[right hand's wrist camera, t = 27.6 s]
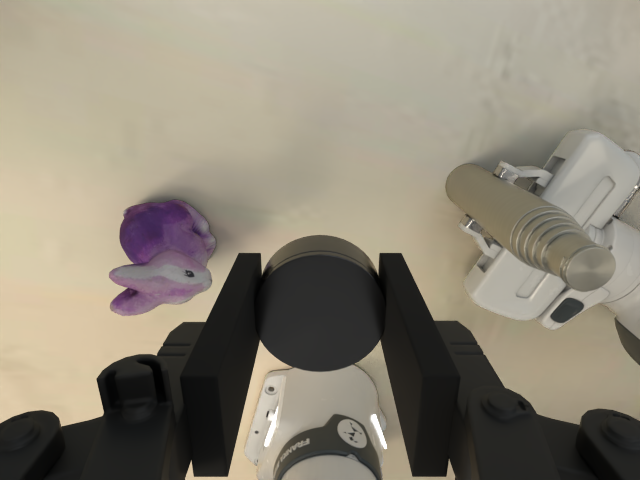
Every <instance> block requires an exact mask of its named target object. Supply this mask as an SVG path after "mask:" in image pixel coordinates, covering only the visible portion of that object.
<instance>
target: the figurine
mask: <svg viewBox="0 0 640 480" xmlns="http://www.w3.org/2000/svg"><path fill="white" fill-rule="evenodd" d="M123 216H124V220H123V222H122V224H121V228H120V243H121V246H122V248H123V250H124V251H125V253H126V255H127V256H128V258H129V259H130V260H131V261H132V262H133V263H134V264H131V265H124V266H121V267H118V268H115V269H113V270H112V271H111V272H110V273H109V278H110V279H111V280H112V281H113V282H115V283H116V284H118V285H121V286H124V287H127V289H126V290H125V291H123V292H122V293H120V294H119V295H118V296H117V297H116V298H115V299H114V300H113V301H112V302H111V304H110V309H111V311H114V312H115V313H117V314H120V315H122V316H131V315H138V314H143V313H145V312H148V311H150V310H152V309H154V308H155V307H157V306H158V305H161V304H182V303H185V302H187V301H189V300H191V298H192V297H193V296H195V295H197V294H199V293H201V292H204V291H206V290H208V289H209V288H210V286H211V284H212V277H211V273H210V271H209V270H208V269H207V268H206V266H207V260H209V258H210V255H211V253H212V252H213V250H214V248H215V246H216V240H215V238H214V237H213V235H212V234H211V233H210V231H209V224H208V222H207V220H205V218H204V217H203V216H202V215H200V213H198V212H197V211H196V210H195V209H194V208H193V207H191V206H190V205H188V204H187V203H186V202H184V201H180V200H171V201H168V202H164V203H151V202H150V203H144V204H140V205H135V206H131V207H129V208H127V209H126V210H124V213H123Z"/></svg>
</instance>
